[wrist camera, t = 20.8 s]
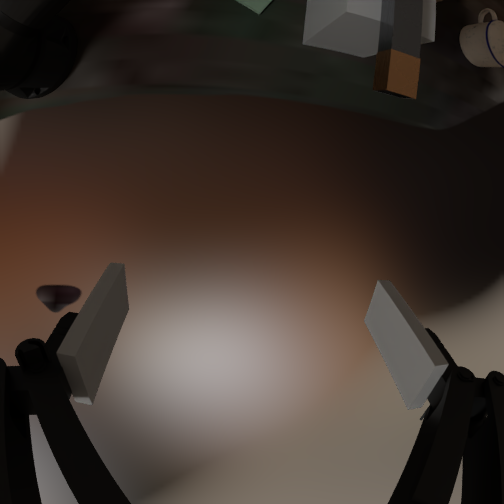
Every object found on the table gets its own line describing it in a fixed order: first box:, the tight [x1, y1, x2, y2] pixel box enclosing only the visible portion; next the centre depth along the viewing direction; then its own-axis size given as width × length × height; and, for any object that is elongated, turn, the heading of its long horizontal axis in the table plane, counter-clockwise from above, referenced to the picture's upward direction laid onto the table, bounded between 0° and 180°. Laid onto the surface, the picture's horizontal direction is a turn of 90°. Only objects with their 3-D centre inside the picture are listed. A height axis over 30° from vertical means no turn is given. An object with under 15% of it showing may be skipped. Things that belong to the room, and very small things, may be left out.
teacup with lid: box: [459, 8, 504, 68], centre depth 34 cm, size 12×9×12 cm
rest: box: [303, 0, 436, 58], centre depth 30 cm, size 12×10×20 cm
